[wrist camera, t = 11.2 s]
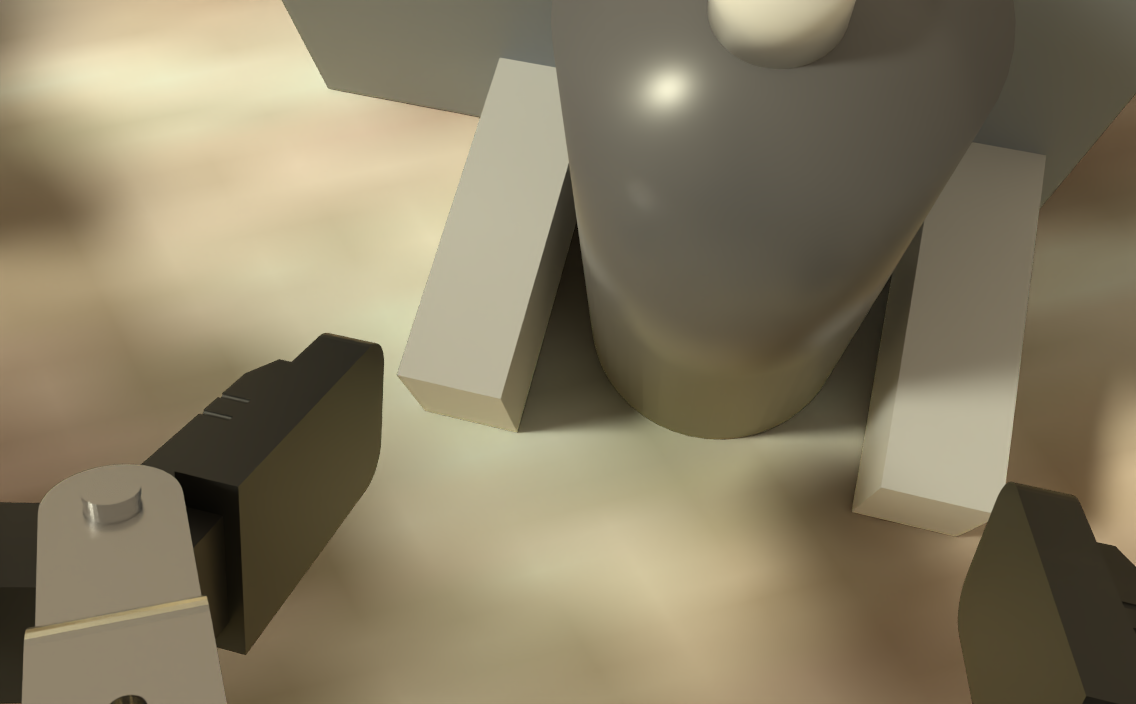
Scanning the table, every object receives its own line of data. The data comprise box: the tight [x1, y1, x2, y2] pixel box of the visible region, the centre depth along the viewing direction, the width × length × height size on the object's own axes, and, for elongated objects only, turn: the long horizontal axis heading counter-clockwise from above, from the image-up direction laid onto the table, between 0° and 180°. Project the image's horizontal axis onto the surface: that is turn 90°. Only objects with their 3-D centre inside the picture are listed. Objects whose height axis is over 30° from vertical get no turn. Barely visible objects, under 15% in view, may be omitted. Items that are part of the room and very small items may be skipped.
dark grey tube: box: [551, 0, 1016, 439], centre depth 15 cm, size 5×5×11 cm
